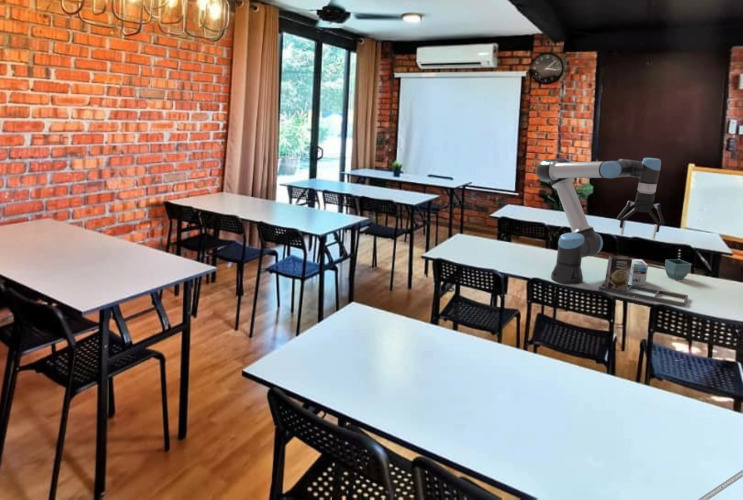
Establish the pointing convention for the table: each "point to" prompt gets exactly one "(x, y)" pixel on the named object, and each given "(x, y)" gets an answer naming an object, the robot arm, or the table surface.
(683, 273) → the flower pot
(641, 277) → the light bulb box
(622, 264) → the brown cardboard box
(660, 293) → the gray sectioned tray
